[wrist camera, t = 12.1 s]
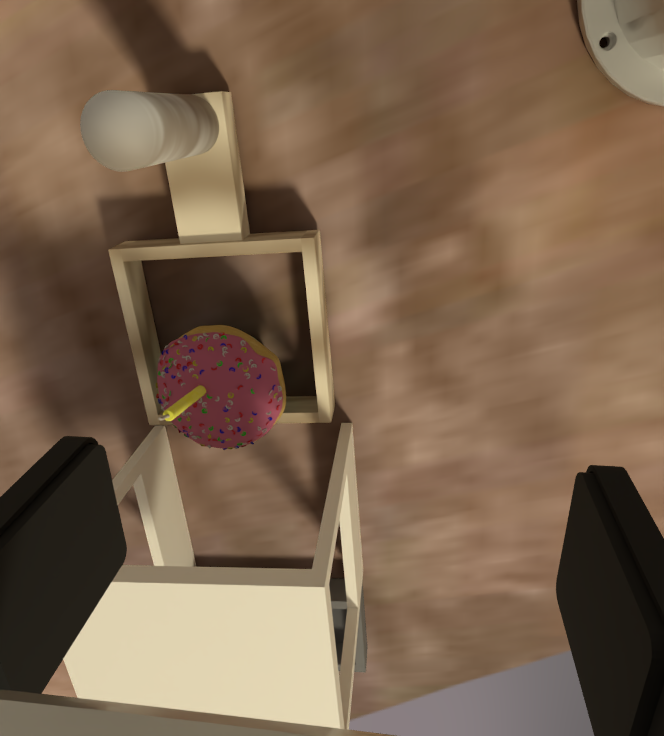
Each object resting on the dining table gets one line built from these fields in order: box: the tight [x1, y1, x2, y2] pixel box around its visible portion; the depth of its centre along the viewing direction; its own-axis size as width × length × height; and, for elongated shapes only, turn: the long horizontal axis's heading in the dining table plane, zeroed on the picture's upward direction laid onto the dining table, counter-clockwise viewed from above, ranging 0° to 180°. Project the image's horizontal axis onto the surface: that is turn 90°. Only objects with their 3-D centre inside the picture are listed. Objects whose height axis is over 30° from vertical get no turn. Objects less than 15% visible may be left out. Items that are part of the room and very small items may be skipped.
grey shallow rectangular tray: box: [329, 578, 367, 672], centre depth 50 cm, size 8×15×2 cm, turn 95°
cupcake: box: [156, 325, 286, 450], centre depth 37 cm, size 9×8×12 cm
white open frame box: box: [63, 423, 363, 730], centre depth 39 cm, size 14×15×16 cm
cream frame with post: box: [80, 90, 335, 425], centre depth 34 cm, size 21×13×12 cm, turn 5°
